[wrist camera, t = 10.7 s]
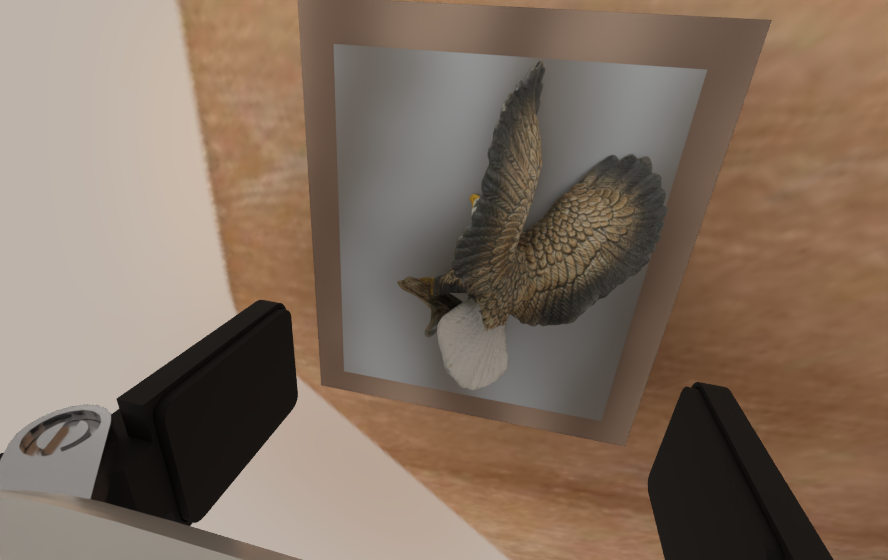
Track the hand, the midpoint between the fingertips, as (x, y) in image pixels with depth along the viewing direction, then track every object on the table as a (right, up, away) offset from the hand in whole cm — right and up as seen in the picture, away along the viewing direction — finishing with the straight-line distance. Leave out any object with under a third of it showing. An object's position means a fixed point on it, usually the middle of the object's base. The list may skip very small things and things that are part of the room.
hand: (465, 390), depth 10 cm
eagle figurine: (0, +6, +5) cm, 8 cm away
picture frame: (+2, +5, +10) cm, 12 cm away
